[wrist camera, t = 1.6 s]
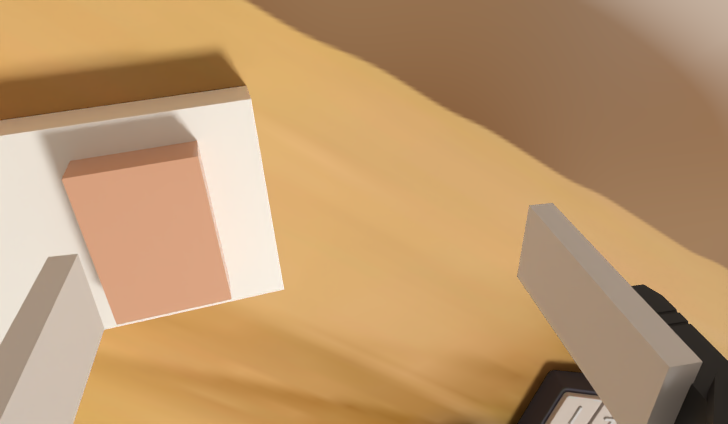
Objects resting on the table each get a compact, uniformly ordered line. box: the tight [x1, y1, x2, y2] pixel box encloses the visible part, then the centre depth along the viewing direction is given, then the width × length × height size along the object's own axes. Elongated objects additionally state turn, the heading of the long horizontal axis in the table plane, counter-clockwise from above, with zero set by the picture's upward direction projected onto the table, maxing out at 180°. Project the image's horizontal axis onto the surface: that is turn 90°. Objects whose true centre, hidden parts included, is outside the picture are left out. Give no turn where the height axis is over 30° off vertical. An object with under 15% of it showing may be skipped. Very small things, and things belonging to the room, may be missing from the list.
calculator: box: [517, 370, 617, 424], centre depth 60 cm, size 11×4×15 cm
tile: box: [62, 141, 232, 325], centre depth 33 cm, size 10×7×2 cm
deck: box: [0, 86, 284, 344], centre depth 34 cm, size 14×20×3 cm
